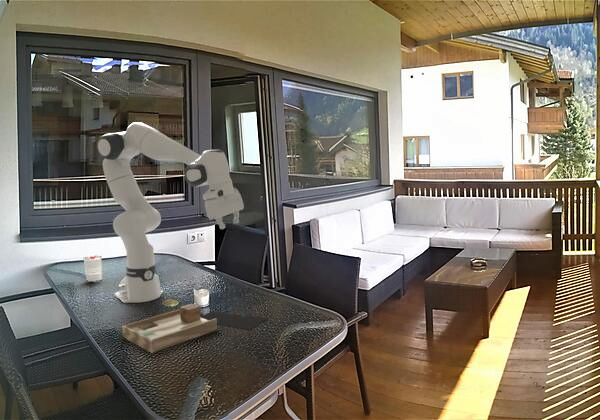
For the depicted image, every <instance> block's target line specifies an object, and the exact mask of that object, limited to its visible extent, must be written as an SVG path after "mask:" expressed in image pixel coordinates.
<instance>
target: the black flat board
mask: <svg viewBox="0 0 600 420" xmlns="http://www.w3.org/2000/svg"><path fill="white" fill-rule="evenodd" d="M200 317H201V318H204V319H206V320H212V319H215V318H216V319H217V326H222V327H228V328H229V327H230V328H233V329H234V328H235V329H240V330H246V331H251V330H253V329H255V328H256V327H258V326H260V325H261V324H263V323H264V322H266V321H267V320H268V319H269V318H266V317H261V316H251V315H250V316H249V315H240V314H233V313H224V312H221V311H215V310H213V311H211V310H210V311H209V312H207V313H205V314H204V313H201V312H200Z"/></svg>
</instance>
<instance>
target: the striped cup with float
mask: <svg viewBox="0 0 600 420" xmlns="http://www.w3.org/2000/svg"><path fill="white" fill-rule="evenodd" d="M83 262H84V271H85V277H86V281H87V280H88V281H96V280H101V279H102V280H103V267H102V266H103V265H102V255H90V256H86V257H85V256H84V257H83Z"/></svg>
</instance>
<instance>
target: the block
mask: <svg viewBox="0 0 600 420" xmlns="http://www.w3.org/2000/svg"><path fill="white" fill-rule="evenodd" d="M200 307H201V306H200V305H197V304H194V303H189V304H186V305H181V306H180V307H179V309H180V317H181V321H183V322H186V323H188V324H189V323H192V322H195V321H198V320H200V313H201V308H200Z"/></svg>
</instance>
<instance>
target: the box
mask: <svg viewBox="0 0 600 420" xmlns="http://www.w3.org/2000/svg"><path fill="white" fill-rule="evenodd" d="M121 329H122V330H121V331H122V338H123V337H124V338H123V339H125V338H126V340H127V341H129V342H130V343H132V344H134V345H136V346H138V347H140V348H142V349H144V350H146V351H147V352H150V354H153V353H156V352H159V351H162V350H164V349H167V348H170V347H173V346H175V345H179V344H182V343H184V342H187V341H189V340H192V339H195V338H198V337H200V336H201V337H202V336H204V335H206V334H207V335H208V334H209V333H212V332H215V331H218V325H217V319H216V318H215V319H212V320H206V319H204V318H201V317H200V320H198V321H195V322H192V323H189V324H188V323H186V322H183V321H181V317H180V308H178V309H176V310H172V311H168V312H165V313H162V314H158V315H156V316H155V315H154V316H152V317H148V318H145V319H141V320H138V321H135V322H132V323H127V324H125V325H122V326H121Z"/></svg>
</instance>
